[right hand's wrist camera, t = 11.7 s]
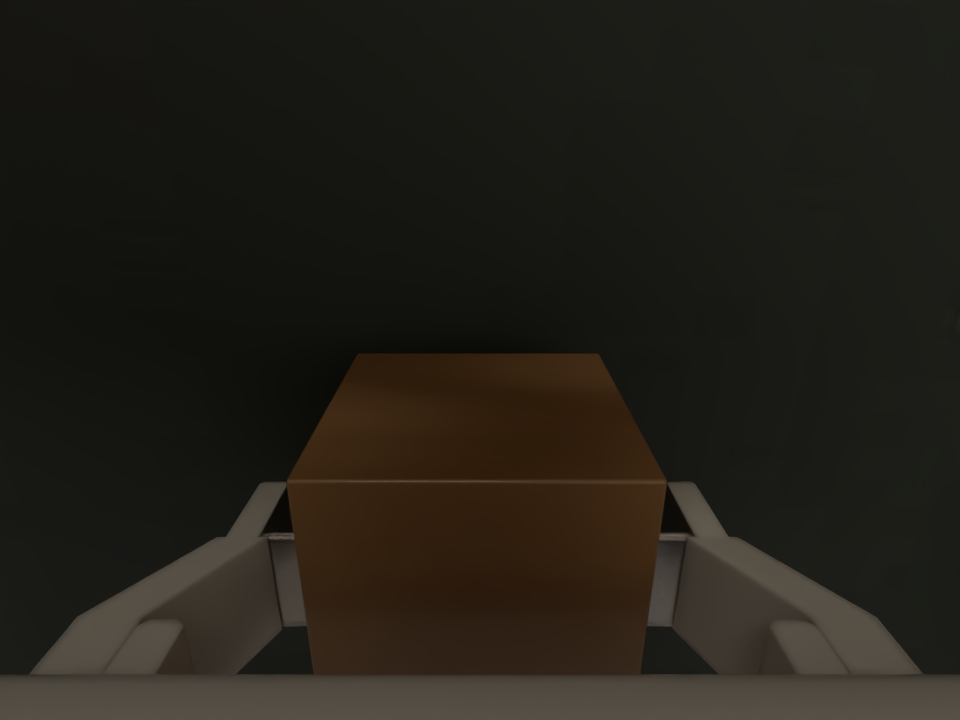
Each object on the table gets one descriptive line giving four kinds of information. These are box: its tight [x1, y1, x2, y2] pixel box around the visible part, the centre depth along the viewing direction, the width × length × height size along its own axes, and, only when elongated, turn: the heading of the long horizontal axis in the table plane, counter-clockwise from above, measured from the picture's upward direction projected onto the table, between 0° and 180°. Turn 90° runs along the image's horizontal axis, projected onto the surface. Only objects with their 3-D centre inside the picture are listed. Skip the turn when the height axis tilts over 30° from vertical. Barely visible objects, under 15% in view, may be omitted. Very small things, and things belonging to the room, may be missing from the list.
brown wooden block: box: [286, 353, 667, 675], centre depth 10 cm, size 5×5×4 cm
